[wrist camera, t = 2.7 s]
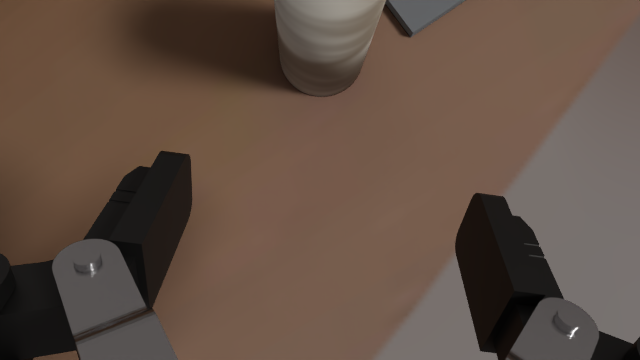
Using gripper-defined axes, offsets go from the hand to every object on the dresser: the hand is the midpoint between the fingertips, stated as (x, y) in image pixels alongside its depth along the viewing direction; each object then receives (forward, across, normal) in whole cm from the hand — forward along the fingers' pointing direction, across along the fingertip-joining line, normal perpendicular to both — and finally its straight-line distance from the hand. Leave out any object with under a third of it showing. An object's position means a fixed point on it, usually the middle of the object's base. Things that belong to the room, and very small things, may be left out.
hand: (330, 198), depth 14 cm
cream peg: (+16, -1, -2) cm, 16 cm away
